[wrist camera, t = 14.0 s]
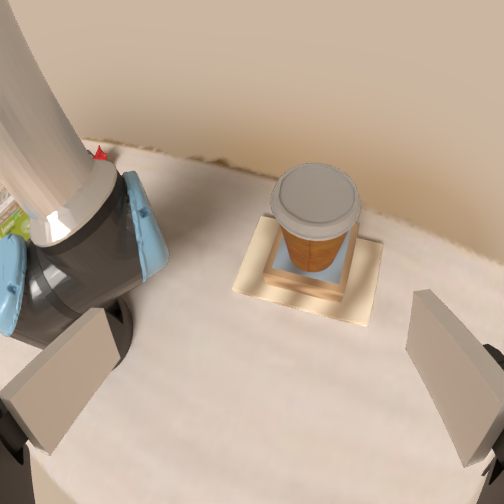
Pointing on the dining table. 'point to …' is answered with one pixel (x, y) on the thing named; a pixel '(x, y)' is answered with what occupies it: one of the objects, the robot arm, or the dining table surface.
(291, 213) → the disposable coffee cup
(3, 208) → the tea box
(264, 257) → the stand
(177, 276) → the dining table surface
